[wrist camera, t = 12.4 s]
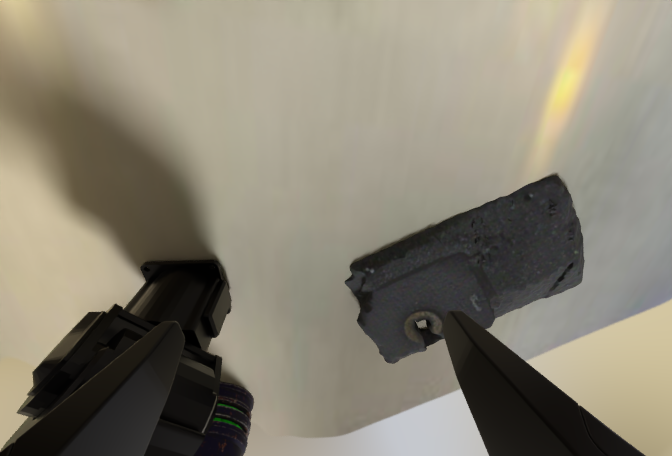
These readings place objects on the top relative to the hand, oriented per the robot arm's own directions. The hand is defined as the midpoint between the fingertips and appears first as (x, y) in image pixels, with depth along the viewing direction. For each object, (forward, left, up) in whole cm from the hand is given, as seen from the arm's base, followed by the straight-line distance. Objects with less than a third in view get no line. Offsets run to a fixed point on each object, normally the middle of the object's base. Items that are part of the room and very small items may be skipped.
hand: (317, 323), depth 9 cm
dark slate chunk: (+15, -10, -14) cm, 23 cm away
